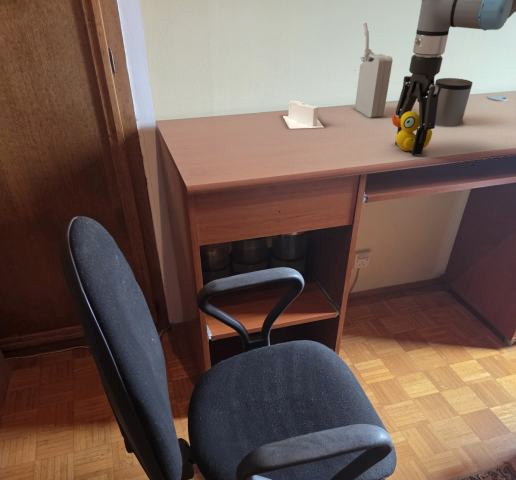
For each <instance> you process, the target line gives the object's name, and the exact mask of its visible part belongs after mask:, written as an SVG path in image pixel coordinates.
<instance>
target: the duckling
mask: <svg viewBox="0 0 516 480" xmlns="http://www.w3.org/2000/svg"><path fill="white" fill-rule="evenodd" d="M391 116H392V117H391V121H392V125H393V126H394V127H397V128H398V127H401V128H402V130H401V131H399V133H398V134H397V133H396V135H395V142H396V143H397V145H396V146H398V148H399V149H400V150H402V151H404V152H412V150H413V145H414V141H415V136H416V133H414V132H416V131H417V128H419V113H418V112H416V111H413V110H411V111H409V112H406V113H404V114H403V115H402V117H401V119H399V118H398V117H397V115H396V114H392V115H391ZM432 130H433V129H429V130H428V132H427V136H426V141H425V143H424V146H423V149H425V148H427V147H428V146H429V144H430V142H431V140H432V136H433V131H432Z"/></svg>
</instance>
